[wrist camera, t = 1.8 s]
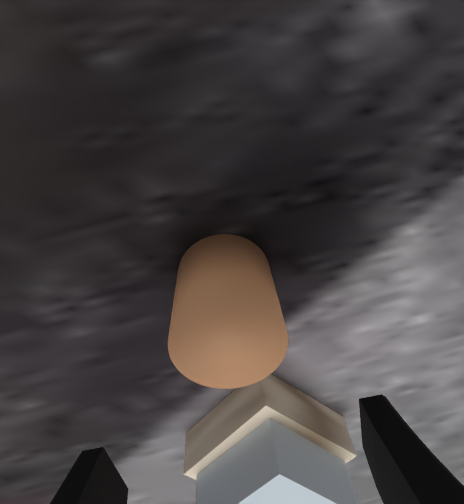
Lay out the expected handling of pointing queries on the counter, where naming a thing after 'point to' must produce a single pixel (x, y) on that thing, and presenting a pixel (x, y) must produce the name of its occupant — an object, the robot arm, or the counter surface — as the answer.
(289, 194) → the counter surface
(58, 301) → the counter surface
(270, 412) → the birch base block
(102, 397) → the counter surface
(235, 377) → the light brown cylinder
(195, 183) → the counter surface
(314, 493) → the grey-blue top block
